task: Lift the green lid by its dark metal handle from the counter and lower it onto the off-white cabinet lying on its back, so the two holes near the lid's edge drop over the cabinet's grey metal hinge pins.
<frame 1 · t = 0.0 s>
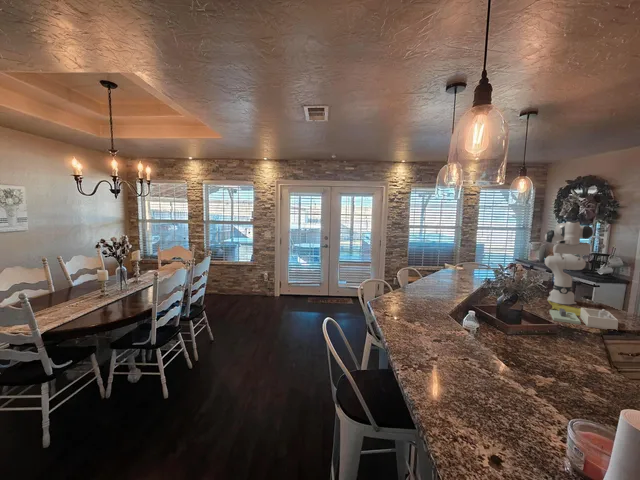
hand: (570, 260, 215), 39 cm above the kitchen island, tool pointing down, fingers open, 8 cm apart
cabinet: (597, 323, 191), on the kitchen island
plastic component: (564, 311, 215), on the kitchen island
green lid: (564, 317, 202), on the kitchen island
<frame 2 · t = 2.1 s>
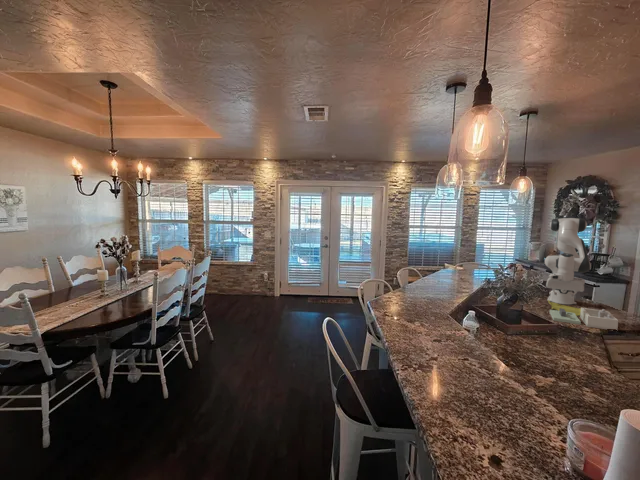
hand: (563, 295, 201), 16 cm above the kitchen island, tool pointing down, fingers open, 8 cm apart
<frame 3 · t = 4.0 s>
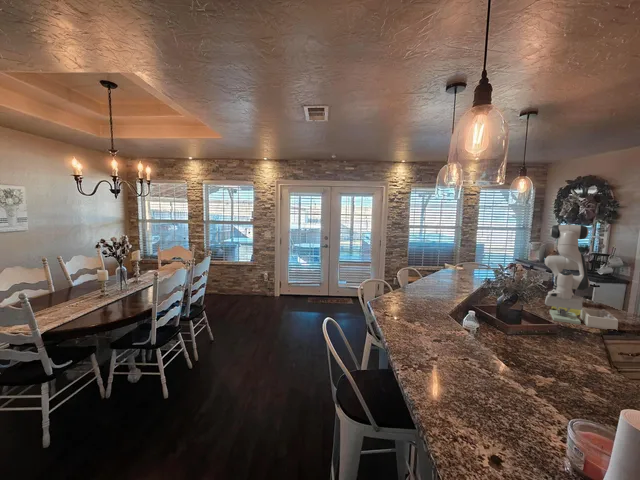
hand: (562, 313, 202), 3 cm above the kitchen island, tool pointing down, fingers closed on green lid, 2 cm apart
green lid: (564, 317, 202), on the kitchen island, touching gripper
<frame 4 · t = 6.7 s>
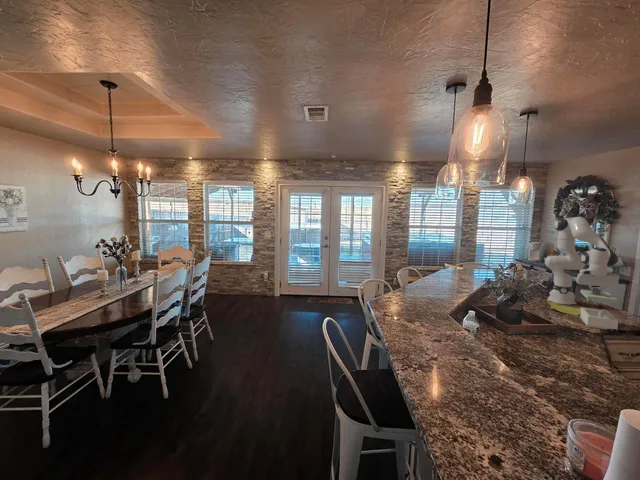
hand: (596, 292, 190), 21 cm above the kitchen island, tool pointing down, fingers closed on green lid, 2 cm apart
green lid: (597, 297, 190), point 18 cm above the kitchen island, touching gripper
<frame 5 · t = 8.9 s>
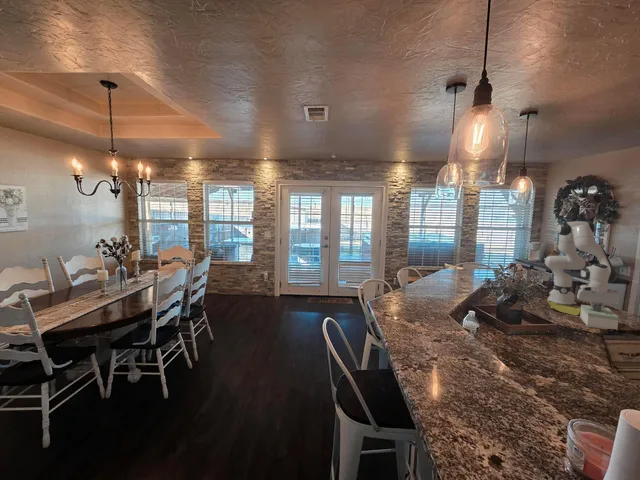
hand: (596, 308, 191), 10 cm above the kitchen island, tool pointing down, fingers closed on green lid, 2 cm apart
green lid: (598, 313, 190), point 7 cm above the kitchen island, touching gripper
when the fingers open (10 cm above the kitchen island, at t = 9.5 s): green lid stays where it is, resting on cabinet.
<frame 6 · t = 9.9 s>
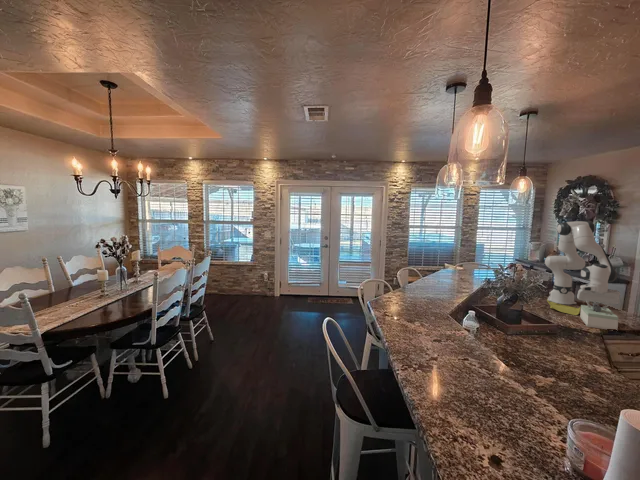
hand: (596, 308, 191), 10 cm above the kitchen island, tool pointing down, fingers open, 6 cm apart
green lid: (598, 313, 190), point 7 cm above the kitchen island, touching cabinet
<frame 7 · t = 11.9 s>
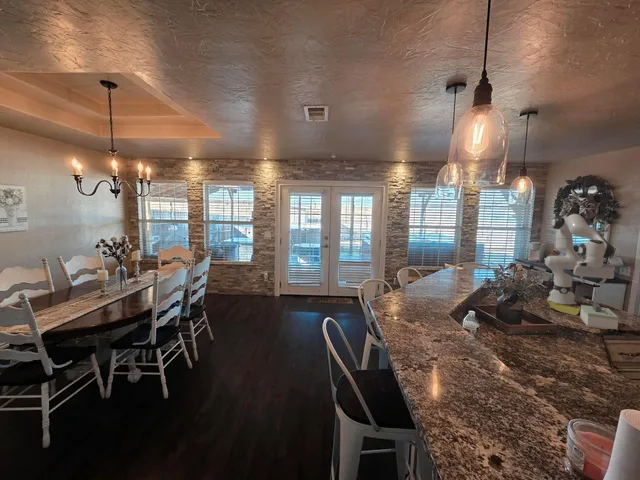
hand: (592, 283, 196), 26 cm above the kitchen island, tool pointing down, fingers open, 8 cm apart
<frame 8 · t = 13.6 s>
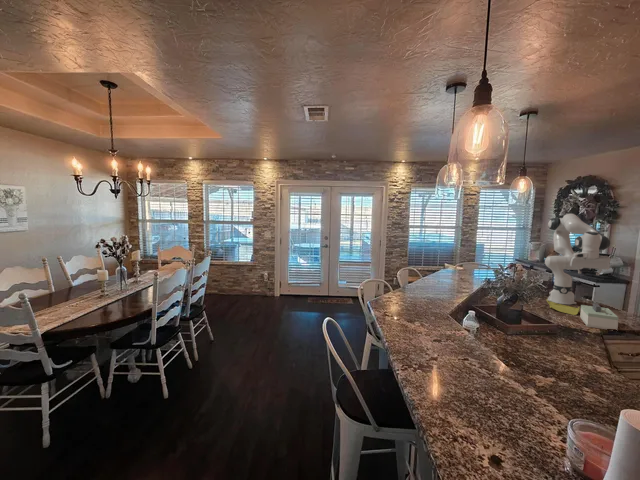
hand: (588, 274, 200), 31 cm above the kitchen island, tool pointing down, fingers open, 8 cm apart
at the end: green lid 0.0 cm off-centre on the cabinet, point 7.0 cm above the cabinet's base; green lid tilted 0°; the gripper is holding nothing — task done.
